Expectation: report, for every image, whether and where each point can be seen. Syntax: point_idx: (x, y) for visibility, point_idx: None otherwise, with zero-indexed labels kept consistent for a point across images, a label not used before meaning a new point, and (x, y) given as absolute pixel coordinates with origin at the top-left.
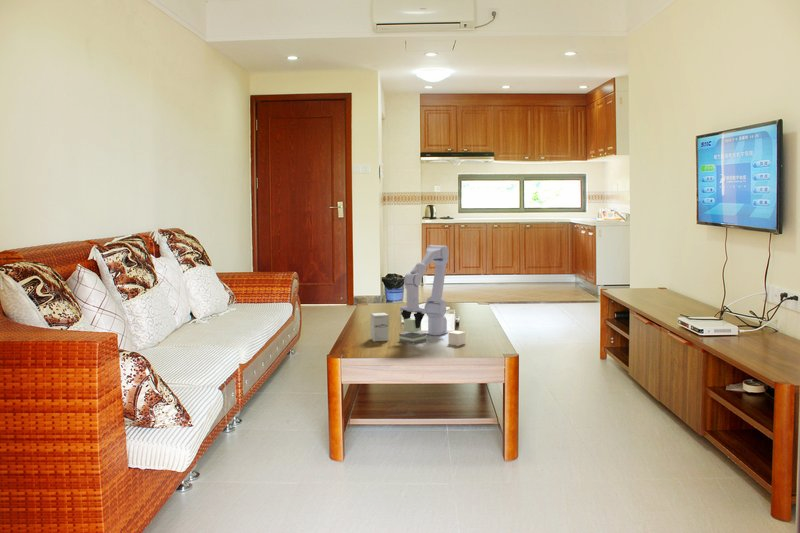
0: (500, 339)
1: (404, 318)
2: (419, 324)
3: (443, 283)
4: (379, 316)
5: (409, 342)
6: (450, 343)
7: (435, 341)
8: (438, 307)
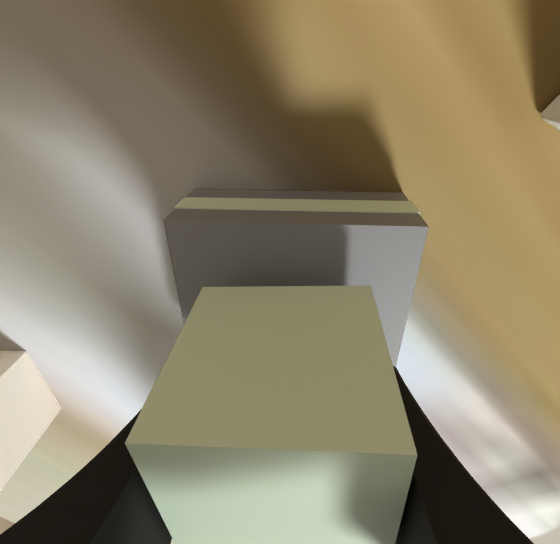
0: (10, 517)
1: (454, 493)
2: None
3: None
4: None
5: (248, 192)
6: (4, 355)
7: (153, 360)
8: None
